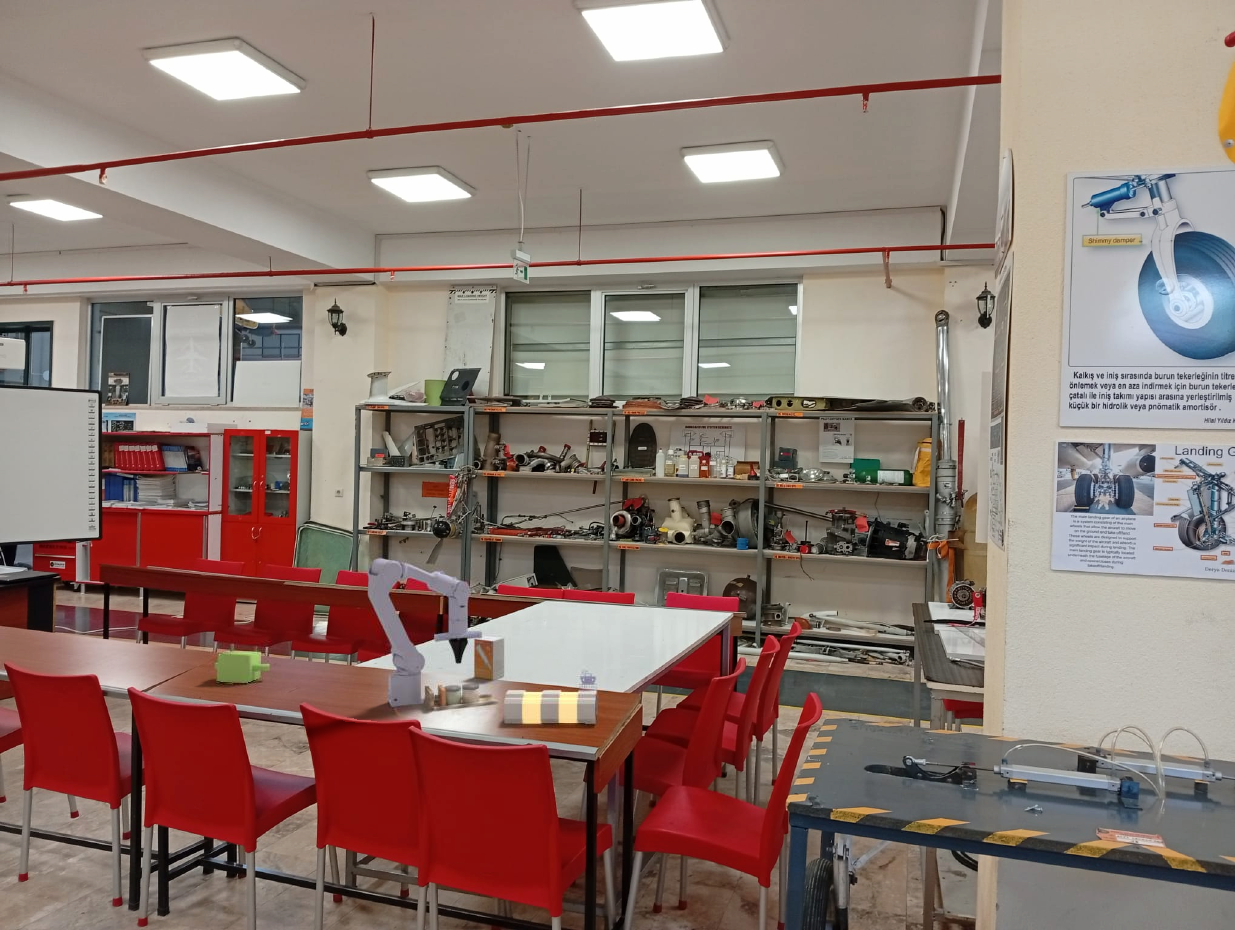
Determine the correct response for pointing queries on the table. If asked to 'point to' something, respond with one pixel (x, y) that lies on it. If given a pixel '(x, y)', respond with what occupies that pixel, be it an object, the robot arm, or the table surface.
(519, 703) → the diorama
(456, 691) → the green jar
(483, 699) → the lane
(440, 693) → the pusher
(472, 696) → the cream jar
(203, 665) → the table surface
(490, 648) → the small box
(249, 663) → the gearbox
